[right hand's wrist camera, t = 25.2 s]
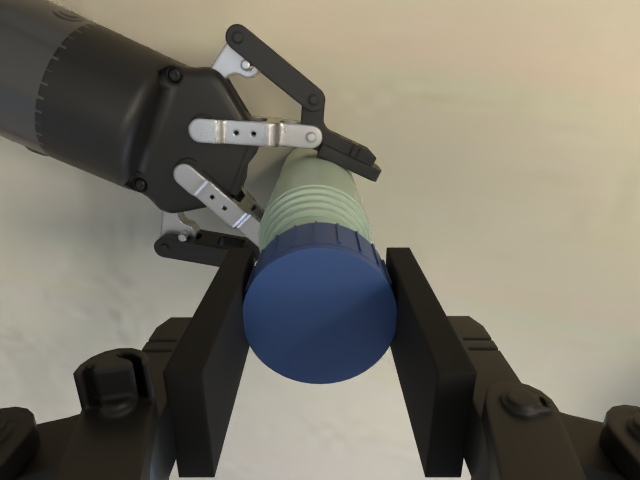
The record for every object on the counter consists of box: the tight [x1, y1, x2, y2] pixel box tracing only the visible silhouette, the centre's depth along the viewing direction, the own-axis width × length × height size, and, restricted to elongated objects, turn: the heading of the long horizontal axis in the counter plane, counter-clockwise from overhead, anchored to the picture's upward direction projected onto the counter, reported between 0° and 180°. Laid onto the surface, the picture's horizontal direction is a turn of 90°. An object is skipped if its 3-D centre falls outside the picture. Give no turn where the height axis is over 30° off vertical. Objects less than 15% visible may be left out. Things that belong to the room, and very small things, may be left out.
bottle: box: [258, 147, 372, 253], centre depth 22 cm, size 5×5×18 cm
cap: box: [243, 221, 397, 384], centre depth 13 cm, size 5×5×2 cm
